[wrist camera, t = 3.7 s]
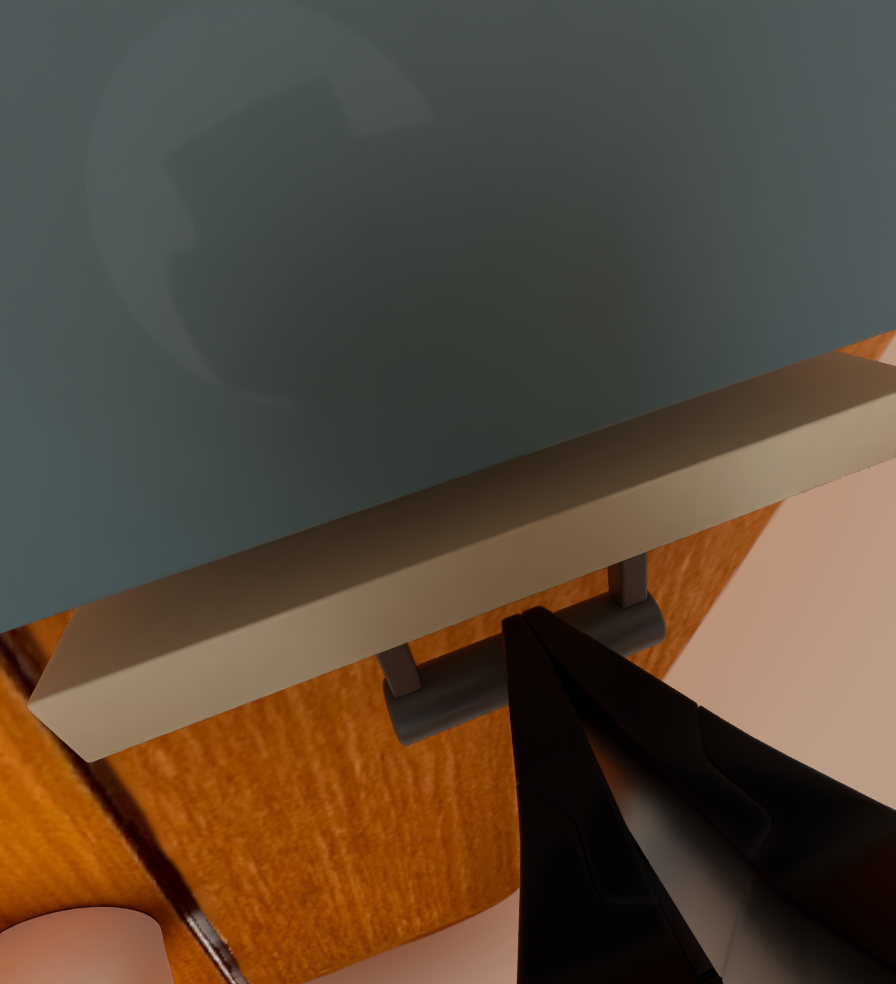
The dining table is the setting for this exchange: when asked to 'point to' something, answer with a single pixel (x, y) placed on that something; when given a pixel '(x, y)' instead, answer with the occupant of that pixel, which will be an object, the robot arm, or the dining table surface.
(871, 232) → the cabinet
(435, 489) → the drawer
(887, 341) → the dining table surface
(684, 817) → the robot arm
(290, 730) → the dining table surface
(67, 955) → the figurine
